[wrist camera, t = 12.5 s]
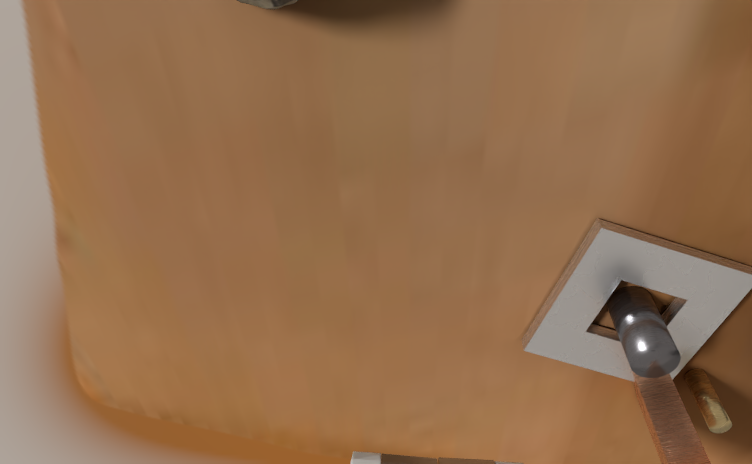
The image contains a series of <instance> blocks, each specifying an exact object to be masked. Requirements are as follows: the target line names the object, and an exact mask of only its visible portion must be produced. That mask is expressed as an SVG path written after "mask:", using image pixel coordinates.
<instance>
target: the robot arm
mask: <svg viewBox="0 0 752 464" xmlns="http://www.w3.org/2000/svg"><path fill="white" fill-rule="evenodd" d="M351 464H523V463H517V462H495V461H493V460H478V459H459V458H438V462H437V459H436V458H428V457H416V456H404V455H392V454H382V459H381V453H370V452H355V451H353V455H352V459H351Z"/></svg>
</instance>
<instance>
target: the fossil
mask: <svg viewBox="0 0 752 464" xmlns="http://www.w3.org/2000/svg"><path fill="white" fill-rule="evenodd" d="M238 1H240V2H241V3H246V4H251V5H254V6H258V7H262V8H265V9H278V8H281V7H283V6H285V5H290V4H294V3H295V2H297V1H298V0H238Z"/></svg>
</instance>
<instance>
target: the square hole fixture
mask: <svg viewBox="0 0 752 464" xmlns="http://www.w3.org/2000/svg"><path fill="white" fill-rule="evenodd" d="M621 280H623V281H626V282H630V283H633V284H636V285H639V286H643V287H646V288H649V289H653V290H656V291H659V292H663V293H666V294H669V295H673V296H676V298H675V299H674V300H673V301H672V303H671V304H670V305H669V307H668V308H667V309H666V310H665V312H664V313H663V314H662V316H661V317H662V319H663V321H664V323H665V325H666V327H667V329H668V331H669V333H670V335H671V337H672V339H673V341H674V343H675V345H676V347H677V349H678V351H679V353H680V356H681V360H680V363H679V365H678V366H677V368H676V369H675V370H674V371H672V372H671V373H669V374H667V375H665V376H662V377H658V378H645V377H641V376H638V375H637V374H635V373H634V372H633V371H632V369H631V367H630V365H629V362H628V359H627V357H626V354H625V352H624V349H623V347H622V344H621V341H620V339H619V336H618V334H617V331H615V330H612V329H608V328H605V327H601V326H598V325H594V324H591V323H592V322H593V320H594V319H595V317H596V316H597V314H598V313H599V312H600V310H601V309H602V307H603V306H604V304H605V303H606V301H607V300H608V299H609V297H610V296H611V294H612V293H613V291H614V290H615V289H616V287H617V286H618V284H619V283H620V281H621ZM751 289H752V267H751V266H748V265H744V264H741V263H738V262H735V261H732V260H728V259H725V258H722V257H719V256H716V255H712V254H709V253H706V252H703V251H700V250H696V249H693V248H690V247H687V246H684V245H681V244H677V243H674V242H671V241H668V240H665V239H661V238H658V237H655V236H652V235H649V234H645V233H642V232H639V231H636V230H633V229H629V228H626V227H623V226H620V225H617V224H613V223H610V222H607V221H604V220H601V219H597V220H596V221H595V223H594V224H593V226H592V228H591V229H590V231H589V232H588V234H587V236H586V237H585V239H584V240H583V242H582V244H581V245H580V247H579V248H578V250H577V252H576V253H575V255H574V257H573V258H572V260H571V261H570V263H569V265H568V266H567V268H566V269H565V271H564V273H563V274H562V276H561V277H560V279H559V281H558V282H557V284H556V285H555V287H554V289H553V290H552V292H551V294H550V295H549V297H548V298H547V300H546V302H545V303H544V305H543V306H542V308H541V310H540V311H539V313H538V314H537V316H536V318H535V319H534V321H533V322H532V324H531V326H530V327H529V329H528V330H527V332H526V334H525V335H524V337H523V339H522V344H523V349H524V351H527V352H531V353H534V354H538V355H541V356H545V357H548V358H552V359H555V360H559V361H562V362H566V363H570V364H573V365H577V366H580V367H584V368H587V369H591V370H594V371H598V372H601V373H605V374H609V375H612V376H616V377H619V378H623V379H626V380H630V381H633V382H634V386H635V390H636V394H637V397H638V401H639V405H640V407H641V410H642V413H643V415H644V418H645V420H646V423H647V426H648V428H649V431H650V434H651V436H652V439H653V442H654V444H655V447H656V449H657V452H658V455H659V457H660V460H661V463H662V464H711V463H710V461H709V459H708V457H707V454H706V452H705V450H704V448H703V446H702V443H701V441H700V439H699V437H698V435H697V432H696V430H695V428H694V426H693V424H692V422H691V419H690V417H689V415H688V413H687V411H686V408H685V406H684V404H683V402H682V400H681V397H680V395H679V393H678V391H677V389H676V387H675V384H674V382H673V379H674V377H675V376H676V375H677V374H678V373H679V372H680V371H681V369H682V368H683V367H684V366H685V365H686V364H687V362H688V361H689V360H690V359H691V358H692V357H693V356H694V354H695V353H696V352H697V351H698V350H699V349H700V347H701V346H702V345H703V344H704V343H705V342H706V341H707V339H708V338H709V337H710V336H711V335H712V334H713V332H714V331H715V330H716V329H717V328H718V327H719V326H720V324H721V323H722V322H723V321H724V320H725V319H726V317H727V316H728V315H729V314H730V313H731V312H732V311H733V309H734V308H735V307H736V306H737V305H738V304H739V302H740V301H741V300H742V299H743V298H744V297H745V296H746V294H747V293H748V292H749V291H750V290H751Z"/></svg>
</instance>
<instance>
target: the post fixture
mask: <svg viewBox="0 0 752 464" xmlns="http://www.w3.org/2000/svg"><path fill="white" fill-rule="evenodd" d="M607 307H608V311H609V313H610V316H611V318H612V321H613V323H614V326H615V329H616V331H617V334H618V336H619V339H620V341H621V344H622V347H623V349H624V352H625V354H626V357H627V359H628V362H629V365H630V367H631V369H632V371H633V372H634V373H635V374H637V375H638V376H641V377H645V378H658V377H662V376H665V375H667V374H669V373H671V372H672V371H674V370H675V369H676V368H677V366H678V365H679V363H680V360H681V356H680V353H679V351H678V349H677V347H676V345H675V343H674V341H673V339H672V337H671V335H670V333H669V331H668V329H667V327H666V325H665V323H664V321H663V319H662V317H661V315H660V313H659V310H658V308H657V306H656V304H655V302H654V300H653V298H652V296H651V294H650V293H649V292H648V291H647V290H646V289H644V288H641V287H637V286H629V287H625V288H622V289H619V290H618V291H616V292H615V293H613V294H612V295H611V297H610V298H609V300H608V303H607ZM685 380H686V382H687V384H688V386H689V388H690V390H691V392H692V395H693V397H694V399H695V401H696V403H697V405H698V407H699V409H700V411H701V413H702V415H703V417H704V419H705V422H706V424H707V426H708V428H709V430H710V431H711V432H713V433H723V432H726V431H728V430H729V429H730V428H731V427H732V422H731V421H730V419H729V417H728V415H727V413H726V411H725V409H724V407H723V405H722V403H721V402H720V400H719V398H718V396H717V394H716V392H715V390H714V388H713V386H712V384H711V382H710V381H709V379H708V377H707V375H706V373H705V371H704V370H702V369H692V370H690V371H688V372H687V373H686V374H685Z"/></svg>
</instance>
